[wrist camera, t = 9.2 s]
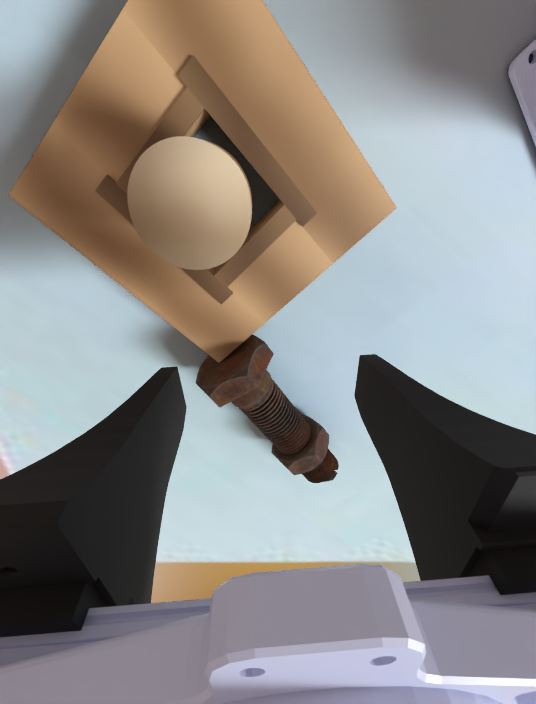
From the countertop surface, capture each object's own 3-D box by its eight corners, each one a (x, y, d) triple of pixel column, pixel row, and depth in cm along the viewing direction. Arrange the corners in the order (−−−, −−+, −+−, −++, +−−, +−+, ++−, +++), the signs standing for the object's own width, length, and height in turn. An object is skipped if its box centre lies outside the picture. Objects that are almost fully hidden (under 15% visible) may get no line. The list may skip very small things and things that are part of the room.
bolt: (308, 442, 32) (219, 336, 25) (355, 443, 29) (269, 323, 22) (291, 498, 29) (180, 395, 21) (342, 507, 25) (233, 389, 18)
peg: (172, 136, 17) (122, 120, 10) (255, 154, 17) (262, 149, 11) (170, 225, 19) (128, 261, 12) (244, 237, 20) (244, 279, 13)
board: (202, -64, 13) (192, -111, 11) (380, 202, 19) (398, 208, 17) (37, 191, 18) (5, 195, 15) (221, 344, 23) (218, 364, 21)
